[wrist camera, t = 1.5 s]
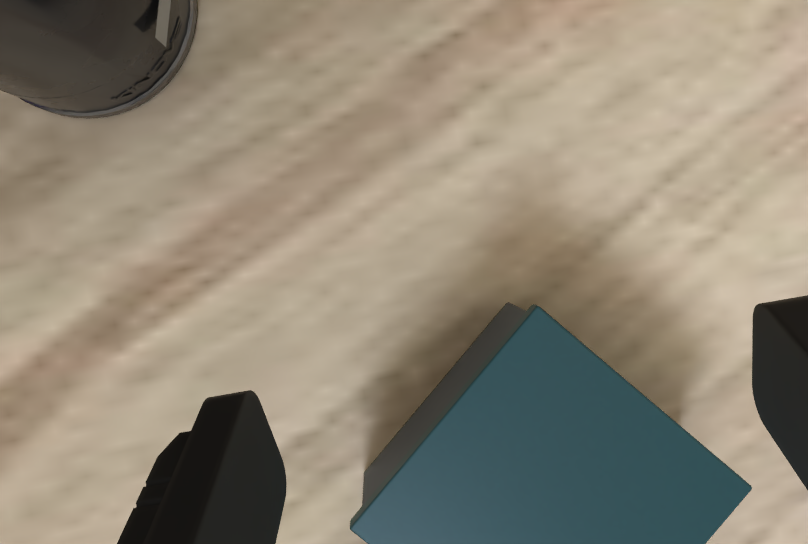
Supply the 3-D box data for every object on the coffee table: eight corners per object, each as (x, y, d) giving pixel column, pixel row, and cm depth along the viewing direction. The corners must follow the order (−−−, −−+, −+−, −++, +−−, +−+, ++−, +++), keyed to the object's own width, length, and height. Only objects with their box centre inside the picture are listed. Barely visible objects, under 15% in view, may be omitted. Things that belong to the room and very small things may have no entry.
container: (354, 473, 32) (348, 529, 26) (506, 292, 31) (537, 305, 25) (532, 618, 32) (568, 706, 26) (683, 441, 32) (753, 488, 26)
